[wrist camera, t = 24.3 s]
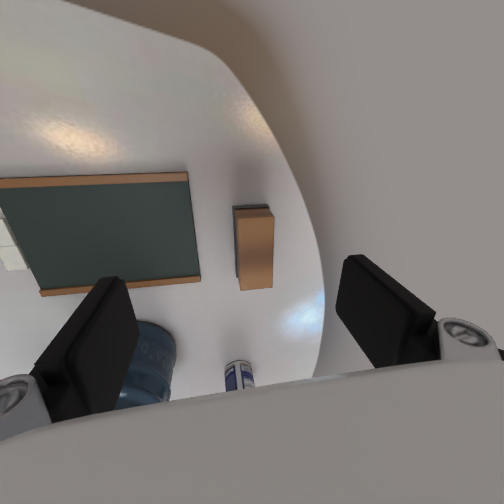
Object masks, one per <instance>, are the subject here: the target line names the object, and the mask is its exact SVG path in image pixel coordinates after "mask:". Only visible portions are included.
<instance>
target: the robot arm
mask: <svg viewBox="0 0 504 504" xmlns="http://www.w3.org/2000/svg"><path fill="white" fill-rule="evenodd" d="M336 312H337V314H338V316H339V317H340V319H341V320H342V321H343V323H344V325H345V326H346V327H347V329H348V330H349V332H350V333H351V335H352V336H353V337H354V339H355V340H356V342H357V343H358V345H359V346H360V347H361V349H362V350H363V352H364V353H365V354H366V356H367V357H368V359H369V360H370V362H371V363H372V364H373V366H374V367H375V369H370V370H363V371H356V372H349V373H343V374H336V375H329V376H323V377H316V378H310V379H304V380H297V381H291V382H285V383H278V384H272V385H266V386H259V387H253V388H247V389H240V390H234V391H228V392H222V393H216V394H209V395H203V396H197V397H191V398H185V399H179V400H173V401H167V402H160V403H154V404H148V405H143V406H137V407H132V408H126V409H120V410H115V411H114V409H115V407H116V404H117V401H118V398H119V395H120V392H121V389H122V386H123V384H124V381H125V378H126V375H127V372H128V369H129V366H130V363H131V360H132V358H133V355H134V352H135V349H136V346H137V343H138V340H139V336H140V331H139V327H138V323H137V320H136V317H135V313H134V310H133V307H132V303H131V300H130V297H129V293H128V290H127V286H126V283H125V281H124V279H120V278H119V277H118V276H110V277H101V278H100V279H99V280H98V281H97V283H96V284H95V285H94V287H93V288H92V289H91V291H90V292H89V293H88V294H87V296H86V297H85V298H84V300H83V301H82V302H81V304H80V305H79V306H78V308H77V309H76V310H75V312H74V313H73V314H72V315H71V317H70V318H69V319H68V321H67V322H66V323H65V325H64V326H63V327H62V329H61V330H60V331H59V332H58V334H57V335H56V336H55V338H54V339H53V340H52V342H51V343H50V344H49V346H48V347H47V348H46V350H45V351H44V352H43V353H42V355H41V356H40V357H39V359H38V360H37V361H36V363H35V364H34V365H35V367H34V368H33V369H32V371H31V372H30V373H29V375H28V374H19V375H14V376H10V377H7V378H5V379H2V380H0V504H504V350H501V349H498V348H497V346H496V343H495V341H494V340H493V338H492V336H490V335H489V334H488V333H487V332H486V331H485V330H483V329H482V328H480V327H479V326H476V325H475V324H473V323H470V322H468V321H465V320H462V319H457V318H442V319H441V320H440V321H438V322H437V321H436V320H435V319H434V317H435V314H436V312H435V311H434V310H433V309H431V308H430V307H429V306H427V305H426V304H425V303H424V302H422V301H421V300H420V299H418V298H417V297H416V296H415V295H414V294H412V293H411V292H410V291H408V290H407V289H406V288H405V287H403V286H402V285H401V284H400V283H398V282H397V281H396V280H395V279H393V278H392V277H391V276H389V275H388V274H387V273H386V272H385V271H383V270H382V269H381V268H379V267H378V266H377V265H376V264H374V263H373V262H372V261H371V260H369V259H368V258H367V257H366V256H364V255H361V254H359V255H350V256H348V257H347V259H345V260H344V263H343V268H342V274H341V279H340V285H339V290H338V296H337V301H336Z"/></svg>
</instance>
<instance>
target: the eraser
mask: <svg viewBox="0 0 504 504" xmlns="http://www.w3.org/2000/svg"><path fill="white" fill-rule="evenodd" d="M232 209H233V229H234V248H235V268H236V277H237V278H238V280H239V285H240V290H241V291H243V290H253V289H263V288H272V284H273V249H274V215H273V214H272V213H271V211H270V210H269V206H268V204H264V205H246V206H233V207H232Z"/></svg>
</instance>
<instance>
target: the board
mask: <svg viewBox="0 0 504 504" xmlns="http://www.w3.org/2000/svg"><path fill="white" fill-rule="evenodd" d="M0 207H1V209H2V211H3V213H4V215H5V217H6V219H7V221H8V223H9V225H10V227H11V229H12V231H13V233H14V236H15V238H16V240H17V242H18V244H19V246H20V248H21V250H22V252H23V254H24V256H25V258H26V260H27V262H28V264H29V266H30V268H31V270H32V272H33V274H34V277H35V279H36V281H37V283H38V285H39V287H40V289H41V290H40V291H39V292H40V294H41V296H42V297H45V296H56V295H66V294H77V293H87V292H90V291H91V289H92V288H93V287H94V285H95V284H96V283H97V281H98V280H99V279H100V278H101V277H110V276H118V277H119V278H120V279H124V281H125V283H126V286H127V289H130V288H140V287H151V286H161V285H172V284H183V283H193V282H201V276H200V268H199V260H198V252H197V245H196V237H195V229H194V221H193V213H192V205H191V197H190V189H189V181H188V173H187V172H163V173H134V174H104V175H75V176H45V177H16V178H0Z"/></svg>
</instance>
